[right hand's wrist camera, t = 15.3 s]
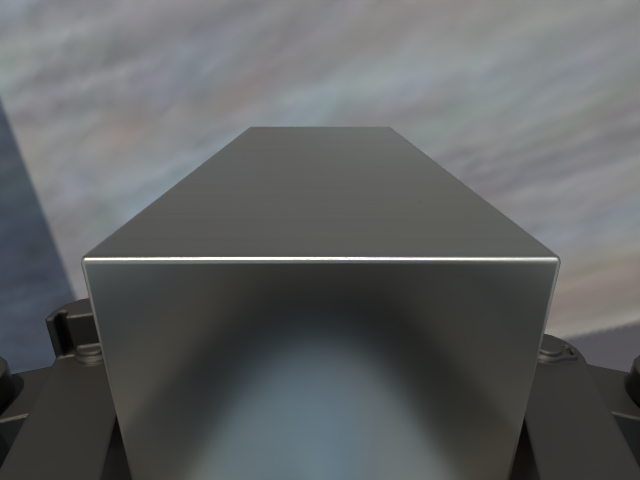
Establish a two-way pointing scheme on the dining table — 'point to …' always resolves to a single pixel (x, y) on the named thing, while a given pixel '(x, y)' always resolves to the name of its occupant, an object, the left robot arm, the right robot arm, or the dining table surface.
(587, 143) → the dining table surface
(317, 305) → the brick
